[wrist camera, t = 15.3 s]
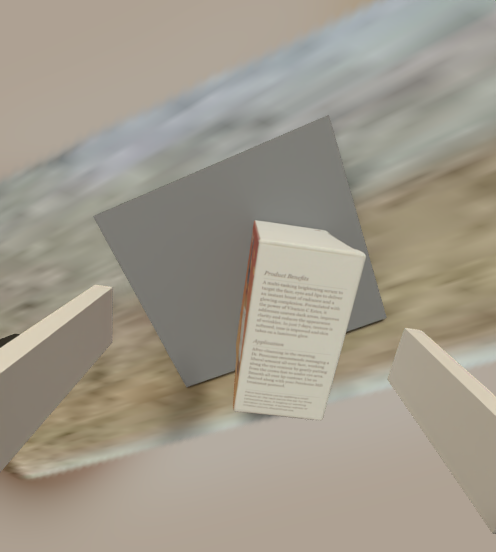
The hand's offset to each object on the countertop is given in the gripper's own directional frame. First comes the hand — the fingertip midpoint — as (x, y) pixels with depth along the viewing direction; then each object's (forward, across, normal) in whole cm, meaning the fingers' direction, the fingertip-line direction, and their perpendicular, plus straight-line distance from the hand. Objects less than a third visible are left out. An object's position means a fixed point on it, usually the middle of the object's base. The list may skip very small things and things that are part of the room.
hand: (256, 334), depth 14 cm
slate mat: (+11, 0, 0) cm, 11 cm away
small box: (+6, +2, -7) cm, 9 cm away
